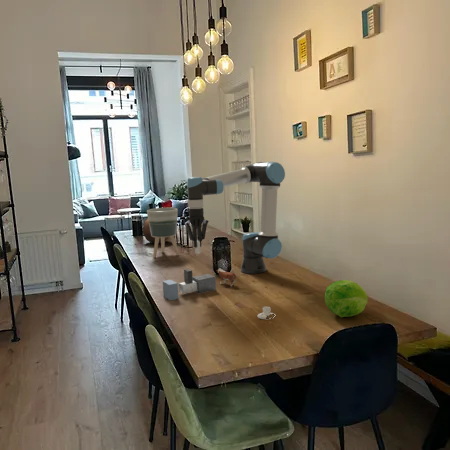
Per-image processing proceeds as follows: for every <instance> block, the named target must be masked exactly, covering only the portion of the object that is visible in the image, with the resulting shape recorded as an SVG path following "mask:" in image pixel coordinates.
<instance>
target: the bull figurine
mask: <svg viewBox="0 0 450 450" xmlns="http://www.w3.org/2000/svg"><path fill="white" fill-rule="evenodd" d="M216 272H217V273H218V274H219V277H220V283H219V285H222V283H223V281H224V283H223V284H227V282H229V281H230V287H233V284H235V282H236V278H237V277H236V274H235V273H234V272H229V271H226V270H225V269H224V268H223V269H222V268H218V269H216ZM226 281H227V282H226Z"/></svg>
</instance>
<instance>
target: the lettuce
mask: <svg viewBox="0 0 450 450" xmlns="http://www.w3.org/2000/svg"><path fill="white" fill-rule="evenodd" d="M368 298H369V297H368V294H367V291H366V290H364V288H363V287H362V286H361V285H360V284H358V282H355V281H352V280H347V279H343V280H336V281H333V282H331V283H330V284H329V285H328V286H326V289H325V293H324V302H325V305H326V307H327V308H328V310H329V311H330V312H331V313H333V314H334V315H337V316H338V317H339V318H344V317H345V318H350V317H353V316H358V315H359V314H361V313H362V312H364V310H365V308H366V305H367V303H368Z"/></svg>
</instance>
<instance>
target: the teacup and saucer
mask: <svg viewBox="0 0 450 450" xmlns="http://www.w3.org/2000/svg"><path fill="white" fill-rule="evenodd" d="M271 310H272V309H271V307H270V306H263V307H262V312H261V313H260V312H259V313H258V314H257V318H258V319H261V320H267V319H266V318H269V319H268V320H272V319H274V317H275V316H277V315H276V313H273V312H271ZM272 314H274V315H275V316H274V317H273V316H272V317H273V318H272V317H269V316H270V315H272ZM267 316H268V317H267ZM271 318H272V319H271ZM275 318H276V317H275Z"/></svg>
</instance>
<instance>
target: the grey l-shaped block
mask: <svg viewBox="0 0 450 450" xmlns="http://www.w3.org/2000/svg"><path fill="white" fill-rule="evenodd" d="M183 276H184V277H183V279H184V281H183V282H178V293H179V292H180V293H182V295H183V294H188V293H191V292H192V293H193V292H195V291H198V281H196V280H193V278H192V277H193V270H191V269H189V268H186V269H183Z"/></svg>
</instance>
